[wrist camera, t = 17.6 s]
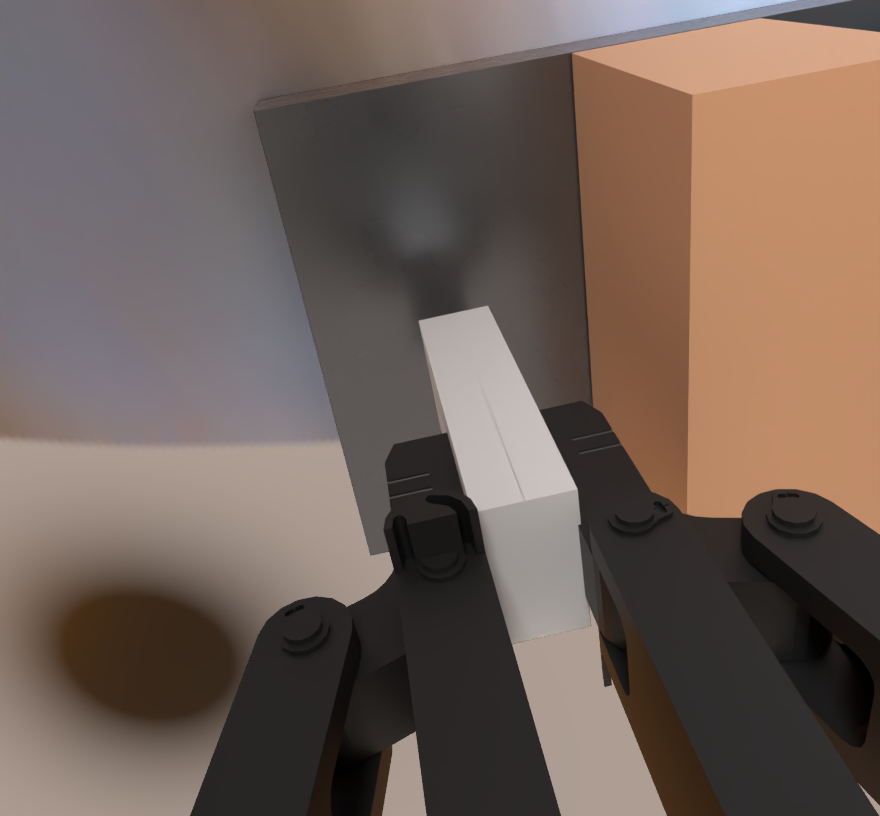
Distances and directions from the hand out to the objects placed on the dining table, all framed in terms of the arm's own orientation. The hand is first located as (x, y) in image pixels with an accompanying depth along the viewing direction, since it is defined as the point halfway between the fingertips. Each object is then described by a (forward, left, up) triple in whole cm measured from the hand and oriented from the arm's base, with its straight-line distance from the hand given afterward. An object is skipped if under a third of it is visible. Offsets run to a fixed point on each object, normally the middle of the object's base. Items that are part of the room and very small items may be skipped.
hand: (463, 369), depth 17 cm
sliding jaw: (+6, 0, -2) cm, 6 cm away
